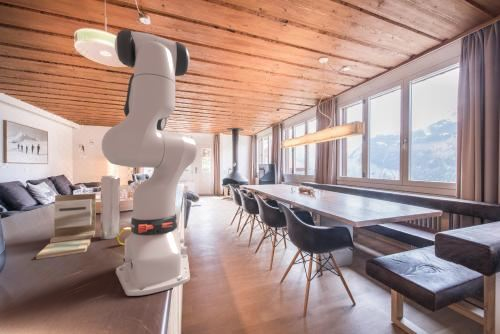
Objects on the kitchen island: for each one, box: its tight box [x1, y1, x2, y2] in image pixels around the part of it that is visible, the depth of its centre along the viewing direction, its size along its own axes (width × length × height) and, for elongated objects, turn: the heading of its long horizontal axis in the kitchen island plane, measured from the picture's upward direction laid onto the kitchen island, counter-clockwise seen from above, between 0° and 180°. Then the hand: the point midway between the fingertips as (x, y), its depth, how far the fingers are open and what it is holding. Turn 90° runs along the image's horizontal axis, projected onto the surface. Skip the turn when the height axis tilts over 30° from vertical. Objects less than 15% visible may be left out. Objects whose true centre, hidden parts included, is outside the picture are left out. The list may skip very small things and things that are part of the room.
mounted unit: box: [49, 193, 97, 244], centre depth 86 cm, size 7×13×17 cm, turn 120°
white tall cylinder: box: [100, 175, 121, 240], centre depth 87 cm, size 6×6×25 cm
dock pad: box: [35, 238, 92, 260], centre depth 73 cm, size 12×12×1 cm
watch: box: [116, 226, 131, 246], centre depth 79 cm, size 6×3×6 cm, turn 129°
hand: (129, 161), depth 99 cm, fingers open, 8 cm apart
